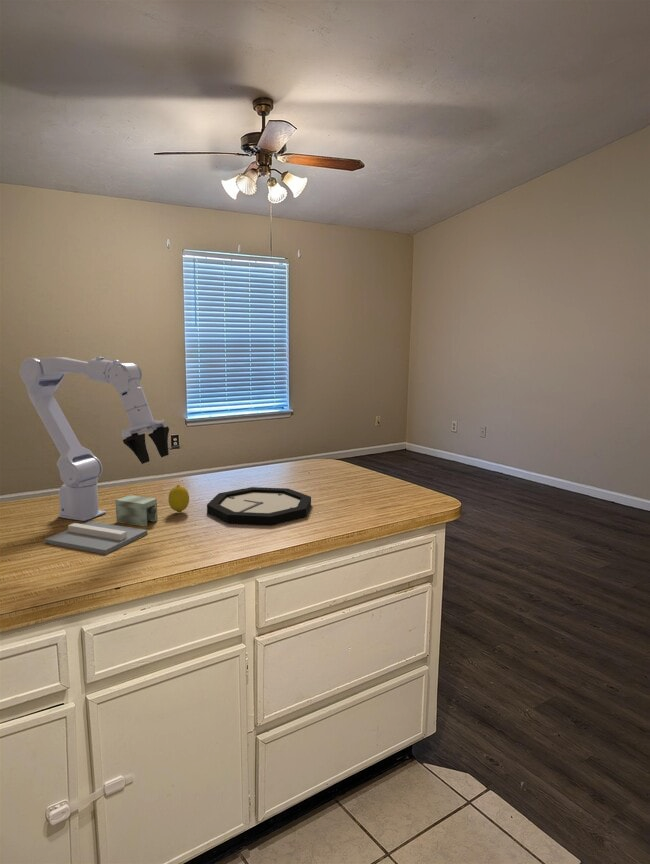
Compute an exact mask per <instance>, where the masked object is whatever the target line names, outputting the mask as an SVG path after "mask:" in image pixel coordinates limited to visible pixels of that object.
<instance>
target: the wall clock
mask: <svg viewBox="0 0 650 864" xmlns="http://www.w3.org/2000/svg"><path fill="white" fill-rule="evenodd" d="M311 506H312V496H311V495H308V494H304V493H302V492H299V491H296V490H294V489H291V488H285V487H262V486H261V487H257V486H250V487H244V488H241V489H240V488H239V489H234V490H229V491H223V492H219V493H217V494H216V495H215V496H214V497H213V498H212V499H211V500H210V501H209V502H208V503H207V504H206V514H208V515H209V516H212V517H214V518H215V519H218V520H219V521H221V522H223V523H225V524H227V525H239V526H241V525H242V526H243V525H244V526H245V525H246V526H261V527H262V526H264V527H265V526H267V527H268V526H269V527H272V526H276V525H281V524H285V523H288V522H289V523H290V522H292V521H297V520H301V519H305V518H307V516H308V513H309V511H310V508H311Z"/></svg>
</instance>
